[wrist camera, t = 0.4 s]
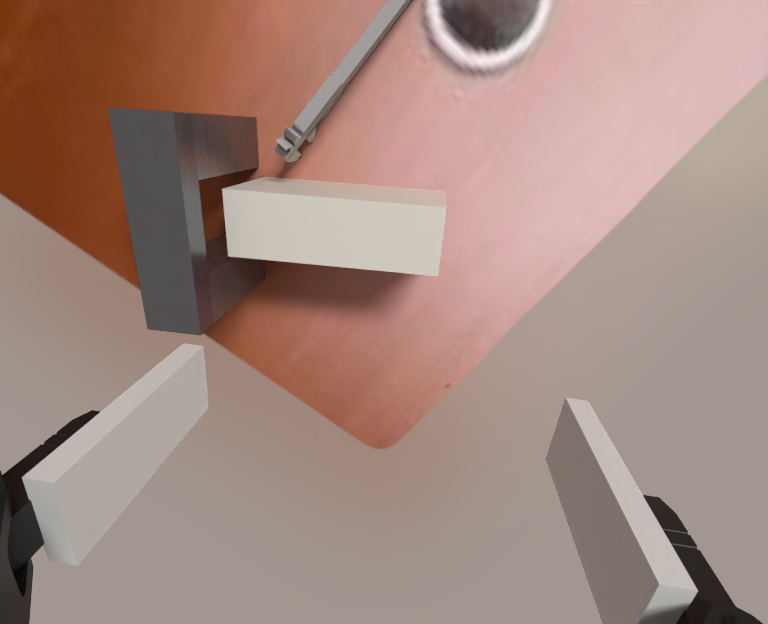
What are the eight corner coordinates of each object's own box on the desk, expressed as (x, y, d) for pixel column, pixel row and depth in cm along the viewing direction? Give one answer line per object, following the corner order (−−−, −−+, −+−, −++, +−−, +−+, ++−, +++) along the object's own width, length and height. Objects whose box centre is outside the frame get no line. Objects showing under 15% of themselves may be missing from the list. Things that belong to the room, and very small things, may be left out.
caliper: (300, 160, 37) (276, 166, 31) (290, 152, 37) (264, 156, 31) (467, -73, 29) (475, -122, 24) (455, -86, 29) (461, -138, 24)
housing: (211, 114, 36) (107, 107, 25) (256, 117, 36) (172, 112, 24) (225, 274, 42) (147, 329, 30) (264, 278, 42) (200, 335, 30)
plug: (243, 174, 38) (195, 186, 30) (443, 190, 37) (446, 207, 29) (247, 229, 40) (203, 253, 32) (437, 246, 39) (438, 276, 31)
